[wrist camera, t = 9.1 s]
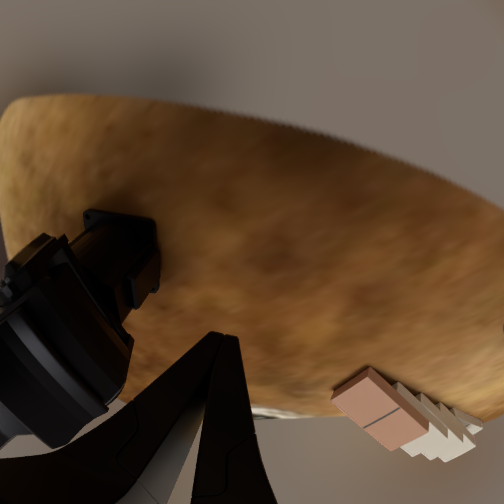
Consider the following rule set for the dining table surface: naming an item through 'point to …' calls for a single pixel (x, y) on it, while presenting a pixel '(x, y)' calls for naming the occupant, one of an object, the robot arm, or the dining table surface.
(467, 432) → the domino
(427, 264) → the dining table surface
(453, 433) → the domino
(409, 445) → the domino
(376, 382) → the domino
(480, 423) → the domino
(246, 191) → the dining table surface
